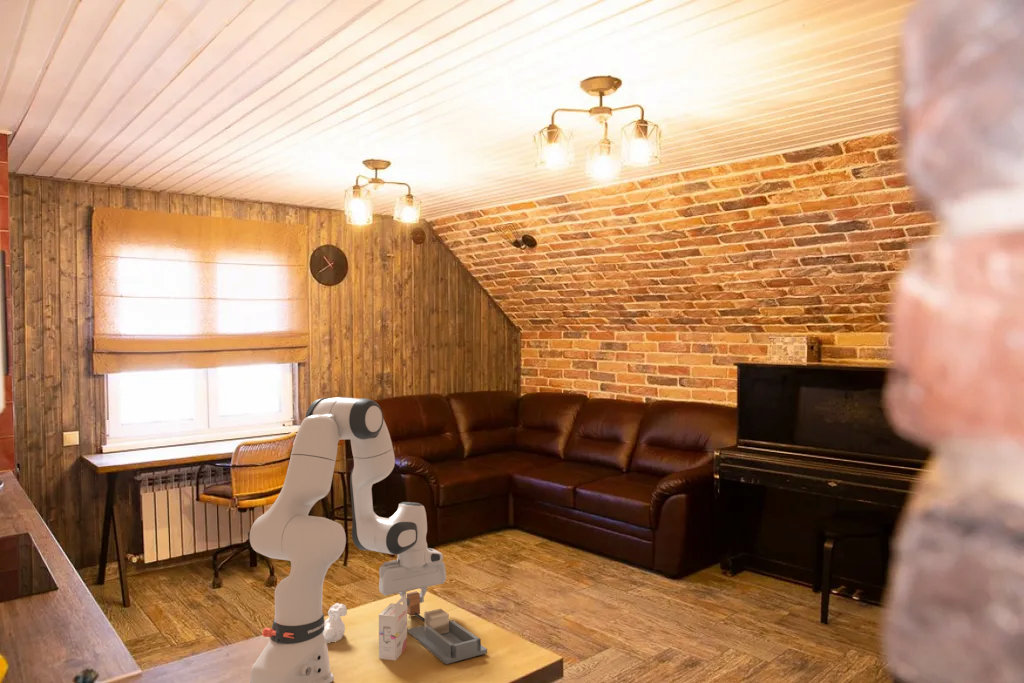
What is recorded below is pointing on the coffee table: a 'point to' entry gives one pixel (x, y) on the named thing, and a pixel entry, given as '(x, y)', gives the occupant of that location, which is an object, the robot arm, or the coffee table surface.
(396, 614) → the ink cartridge box
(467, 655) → the grey slotted base
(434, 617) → the block
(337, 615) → the bust
